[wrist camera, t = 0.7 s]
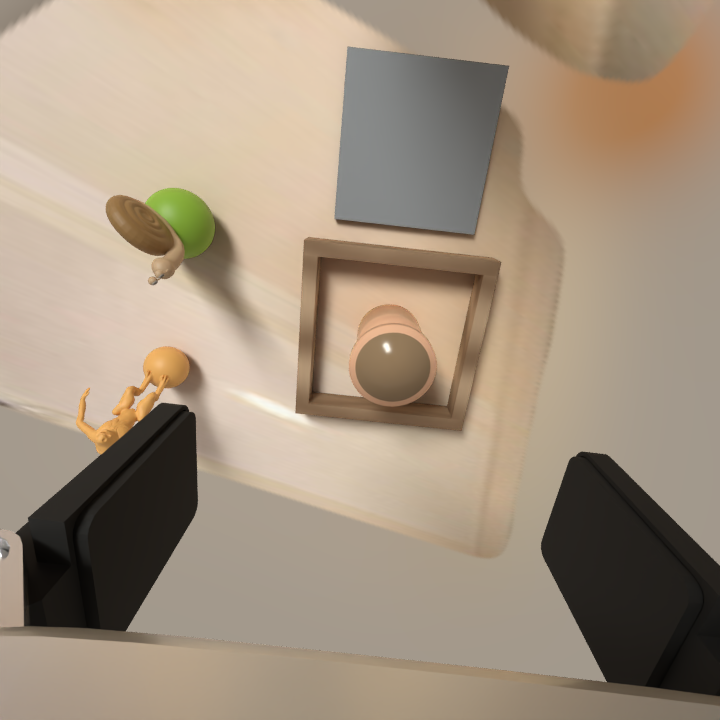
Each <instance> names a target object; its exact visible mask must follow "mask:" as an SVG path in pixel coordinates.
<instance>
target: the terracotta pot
mask: <svg viewBox="0 0 720 720" xmlns="http://www.w3.org/2000/svg"><path fill="white" fill-rule="evenodd" d="M436 370H437V361H436V356H435V353H434V350H433V348H432V346H431V344H430V342H429V341H428V339H427V338H426V337H425V336H424V335H423V334H422V333H421V330H420V327H419V325H418V322H417V320H416V318H415V317H414V316H413V315H412V313H410V312H409V311H408V310H407V309H405V308H403V307H401V306H397V305H381V306H378V307H376V308H374V309H372V310H370V311H369V312H368V313H367V314H366V315H365V316H364V317H363V319H362V320H361V322H360V324H359V328H358V334H357V342H356V343H355V345H354V347H353V349H352V352H351V355H350V361H349V373H350V377H351V380H352V383H353V385H354V386H355V388H356V389H357V391H358V392H359V393H360V394H361V395H362V396H363V397H365V398H366V399H367V400H369V401H371V402H373V403H375V404H378V405H382V406H391V407H394V406H402V405H406V404H409V403H411V402H413V401H415V400H417V399H419V398H420V397H421V396H423V395H424V394H425V393H426V392H427V390H428V389H429V388H430V386H431V385H432V383H433V381H434V378H435V375H436Z"/></svg>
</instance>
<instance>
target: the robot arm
mask: <svg viewBox="0 0 720 720" xmlns="http://www.w3.org/2000/svg"><path fill="white" fill-rule="evenodd" d="M197 504H198V492H197V453H196V418H195V414H194V413H193V412H189V409H188V407H187V406H186V405H177V404H169V403H161V404H159V405H158V406H157V407H155V408H154V409H153V410H152V411H151V412H150V413H149V414H147V415H146V416H145V417H144V418H143V419H142V420H140V421H139V422H138V423H137V424H136V425H135V426H134V427H132V428H131V429H130V430H129V431H128V432H127V433H125V434H124V435H123V436H122V437H121V438H120V439H119V440H117V441H116V442H115V443H114V444H113V445H112V446H110V447H109V448H108V449H107V450H106V451H105V452H103V453H102V454H101V455H100V456H99V457H98V458H97V459H96V460H94V461H93V462H92V463H91V464H90V465H88V466H87V467H86V468H85V469H84V470H83V471H82V472H80V473H79V474H78V475H77V476H76V477H75V478H74V479H72V480H71V481H70V482H69V483H68V484H67V485H65V486H64V487H63V488H62V489H61V490H60V491H59V492H57V493H56V494H55V495H54V496H53V497H52V498H50V499H49V500H48V501H47V502H46V503H45V504H43V505H42V506H41V507H40V508H39V509H38V510H36V511H35V512H34V513H33V514H32V515H31V516H30V517H28V521H29V522H28V523H26V524H25V525H24V526H23V527H22V528H21V529H20V530H19V531H17V532H16V533H14V532H12V531H9V530H3V529H0V720H720V566H719V565H718V564H717V563H716V562H715V561H714V560H713V559H712V558H711V557H710V556H709V555H708V554H707V553H706V552H705V551H704V550H703V549H702V548H701V547H700V546H699V545H698V544H697V543H696V542H695V541H694V540H693V539H692V538H691V537H690V536H689V535H688V534H687V533H686V532H685V531H684V530H683V529H682V528H681V527H680V526H679V525H678V524H677V523H676V522H675V521H674V520H673V519H672V518H671V517H670V516H669V515H668V514H667V513H666V512H665V511H664V510H663V509H662V508H661V507H660V506H659V505H658V504H657V503H656V502H655V501H654V500H653V499H652V498H651V497H650V496H649V495H648V494H647V493H646V492H645V491H644V490H643V489H642V488H641V487H640V486H639V485H637V483H636V482H634V480H633V479H632V478H631V477H629V475H628V474H627V473H626V472H625V471H624V470H623V469H622V468H621V467H619V466H618V464H617V463H615V461H614V460H612V459H611V458H610V457H609V456H608V455H606V454H598V453H590V452H580V453H578V454H577V456H576V457H572V458H571V459H570V460H569V463H568V465H567V469H566V472H565V475H564V477H563V480H562V483H561V487H560V489H559V492H558V495H557V498H556V501H555V503H554V506H553V509H552V513H551V516H550V518H549V521H548V524H547V527H546V530H545V533H544V536H543V539H542V542H541V550H542V555H543V557H544V559H545V562H546V563H547V566H548V567H549V569H550V571H551V573H552V575H553V577H554V579H555V581H556V583H557V585H558V587H559V589H560V591H561V593H562V595H563V597H564V599H565V601H566V603H567V604H568V606H569V609H570V610H571V612H572V614H573V616H574V618H575V620H576V622H577V624H578V626H579V628H580V630H581V632H582V634H583V636H584V638H585V640H586V642H587V644H588V645H589V648H590V650H591V652H592V654H593V656H594V658H595V660H596V662H597V663H598V665H599V667H600V669H601V671H602V673H603V675H604V677H605V679H606V681H607V682H600V681H592V680H583V679H574V678H566V677H557V676H548V675H539V674H531V673H522V672H513V671H505V670H496V669H487V668H477V667H469V666H459V665H450V664H441V663H432V662H423V661H414V660H405V659H395V658H386V657H377V656H368V655H358V654H348V653H340V652H330V651H321V650H311V649H301V648H291V647H282V646H272V645H262V644H253V643H243V642H232V641H224V640H213V639H204V638H194V637H185V636H172V635H161V634H148V633H137V632H126V630H127V628H128V626H129V625H130V623H131V621H132V620H133V618H134V616H135V614H136V613H137V611H138V610H139V608H140V606H141V605H142V603H143V601H144V599H145V598H146V596H147V595H148V593H149V591H150V590H151V588H152V586H153V585H154V583H155V581H156V580H157V578H158V576H159V574H160V573H161V571H162V570H163V568H164V566H165V565H166V563H167V561H168V560H169V558H170V556H171V554H172V553H173V551H174V549H175V548H176V546H177V544H178V543H179V541H180V539H181V538H182V536H183V534H184V533H185V531H186V529H187V528H188V526H189V524H190V523H191V521H192V519H193V518H194V516H195V513H196V510H197Z"/></svg>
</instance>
